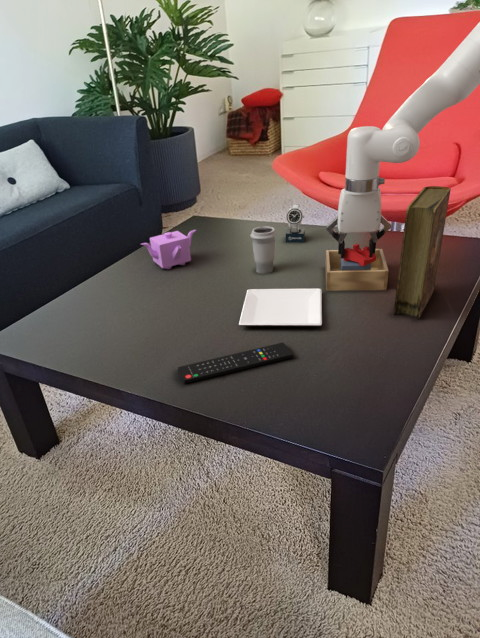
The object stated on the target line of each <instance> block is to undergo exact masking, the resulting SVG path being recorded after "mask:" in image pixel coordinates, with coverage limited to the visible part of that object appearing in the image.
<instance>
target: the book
mask: <svg viewBox="0 0 480 638" xmlns="http://www.w3.org/2000/svg"><path fill="white" fill-rule="evenodd" d="M451 189H452V188H450V187H448V186H442V185H441V186H440V185H438V186H437V185H431V186H424V187H422V189H421V190H420V192H419V193H418V194H416V196H415V197H414V198H413V200H412V201H411V202H410V203H409V204H408V206H407V207H406V210H405V211H406V212H405V217H404V225H403V234H402V242H401V249H400V259H399V267H398V275H397V282H396V292H395V297H394V306H393V316H399V315H401V316H409V317H411V318H414V319H417V320H420V318H421V316H422V314H423V312H424V310H425V308H426V307H427V304H428V302H429V301H430V299H431V297H432V295H433V293H434V291H435V286H436V281H437V280H436V279H437V273H438V267H439V262H440V255H441V250H442V244H443V237H444V232H445V226H446V220H447V213H448V207H449V201H450V195H451V191H452V190H451Z"/></svg>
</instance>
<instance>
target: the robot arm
mask: <svg viewBox="0 0 480 638" xmlns="http://www.w3.org/2000/svg"><path fill="white" fill-rule="evenodd" d="M479 85H480V21H479V22H478V23H477V24H476V25H475V26H474V28H473V29H472V30H471V31H470V32H469V33H468V35H466V37H465V38H464V39H463V40H462V41H461V43H460V44H459V45H458V46H457V47H455V50H453V52H452V53H451V54H450V55H449V56H448V57H447V59H446V60H445V61H444V62H443V63H441V65H440V66H439V67H438V69H437V70H436V71H435V72H433V74H432V75H430V76H429V77H428V78H427V79H426V80H425V81H424V82H423V84H421V85H420V86H419V87H418V88H417V89H416V90H415V91H414V92H413V93H412V94H411V95H410V96H408V98H407V99H405V101H404V102H402V104H401V105H400V107H398V109H397V110H396V111H395V112H394V113H393V114H392V115H391V117H390V118H389V119H388V121H386V123H385V124H384V125H383V127H382V129H381V128H380V127H377V126H371V125H370V126H369V125H366V126H365V125H364V126H358V127H354V128H351V130H349V131H348V134H347V138H346V139H347V140H346V157H345V159H346V160H345V174H344V175H345V177H344V178H345V179H344V188H342V189H341V191H340V194H339V198H338V205H337V207H338V208H337V216H336V217H335V218H333V219H332V220H331V221H330V222H329V223H328V224H327V225H326V226H325V230H326V232H327V233H328V234H329V235H330V236H331V237H332V238H333V239H334V240H335V241H336V242H337V243H338V247H337V250H338V254H341V259H343V258H344V250H345V248H346V244H345V243H346V242H345V239H346V237H347V235H348V234H359V233H360V234H361V233H362V234H363V233H369V235H370V238H369V241H368V247H369V252H370V253H369V257H370V258H372V256H373V253H375V250H376V249H377V242H378V241H379V240H380V239H381V238H382V237H383V236H385V234H386V233H387V232H389V231H390V230H391V229H392V227H393V226H392V224H391V222H390V221H389V220H387V219H386V218H385V217H384V216H383V214H382V193H381V192H382V191H381V188H380V186H381V185H385V183H386V178H385V177H380V165H381V163H388V164H389V163H392V164H402V163H403V164H404V163H406V162H409V161H411V160H412V159H413V158H414V157H415V156H416V155H417V153H418V152H419V149H420V146H421V141H420V137H419V133H420V132H421V131H422V130H423V129H424V128H425V127H426V126H427V125H428V124H429V123H430V122H431V121H432V120H433V119H434V118H435V117H437V116H438V115H439V114H440V113H442V112H444V111H445V110H447V109H449V108H452V107H453V106H456V105H457V104H460V103H461V102H463V101H464V100H466V99H467V98H469V96H470V95H471V94H472V93H473V92H474V91H475V90H476V89H477V88H478V87H479ZM381 224H382V227H381ZM336 226H337V230H338V231H337V230H335V229H334V228H335V227H336Z"/></svg>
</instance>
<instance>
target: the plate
mask: <svg viewBox="0 0 480 638" xmlns="http://www.w3.org/2000/svg"><path fill="white" fill-rule="evenodd" d="M322 290H323V289H322V288H249V289H247V290H246V294H245V298H244V301H243V306H242V310H241V314H240V318H239V322H238V325H239V326H240V327H321V326H322V324H323V314H322V313H323V311H322V309H323V308H322V307H323V306H322V305H323V304H322V303H323V301H322V300H323V299H322V298H323V296H322V293H323V292H322Z"/></svg>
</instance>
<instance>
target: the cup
mask: <svg viewBox="0 0 480 638" xmlns="http://www.w3.org/2000/svg"><path fill="white" fill-rule="evenodd" d="M249 234H250V235H249V237H250V238H252V240H251V243H252V252H253V260H254V262H255V263H254V264H255V271H256V273H258V274H260V275H261V274H262V275H266V274H271V273H272V272H273V271H274V260H275V249H276V239H275V237H277V231H276V230H275V228H274V227H272V226H268V225H262V226H261V225H260V226H257V227H254V228H253V229H252V230H251V233H249Z"/></svg>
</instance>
